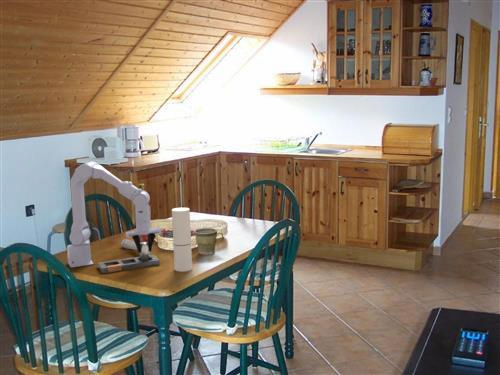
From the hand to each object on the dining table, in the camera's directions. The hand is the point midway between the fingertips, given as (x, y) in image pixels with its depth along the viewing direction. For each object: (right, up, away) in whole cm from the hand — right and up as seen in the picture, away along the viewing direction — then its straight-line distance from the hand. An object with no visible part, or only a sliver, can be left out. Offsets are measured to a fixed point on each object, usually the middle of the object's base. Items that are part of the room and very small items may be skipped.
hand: (144, 251), depth 262 cm
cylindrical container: (+17, -6, -8) cm, 20 cm away
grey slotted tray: (-6, -6, -2) cm, 9 cm away
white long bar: (-7, -3, +19) cm, 20 cm away
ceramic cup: (+27, -2, +15) cm, 31 cm away
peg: (0, -3, +1) cm, 3 cm away
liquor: (-6, +1, +36) cm, 37 cm away
